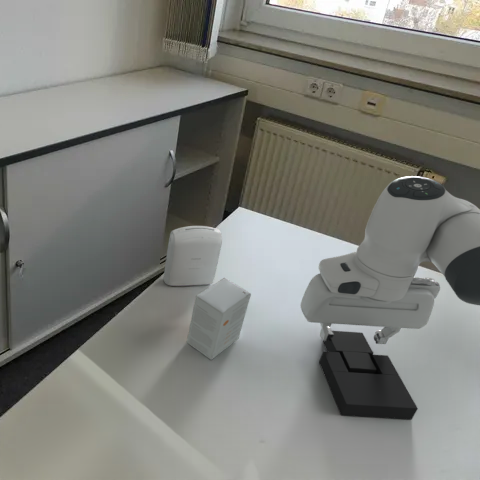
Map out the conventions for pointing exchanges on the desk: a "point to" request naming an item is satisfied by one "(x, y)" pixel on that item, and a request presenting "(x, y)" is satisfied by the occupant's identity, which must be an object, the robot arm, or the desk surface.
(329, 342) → the black block
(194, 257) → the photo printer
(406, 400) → the black notched block
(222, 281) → the small box
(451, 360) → the desk surface
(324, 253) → the desk surface
